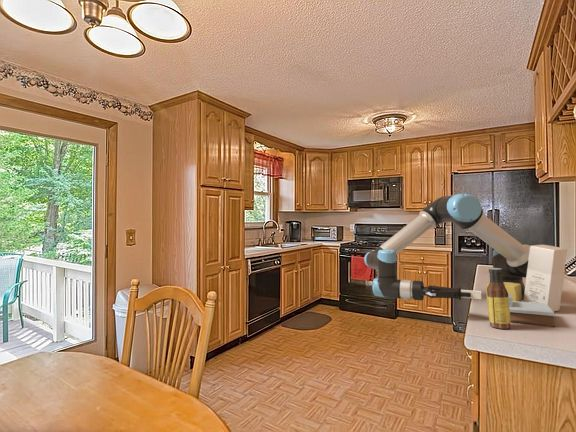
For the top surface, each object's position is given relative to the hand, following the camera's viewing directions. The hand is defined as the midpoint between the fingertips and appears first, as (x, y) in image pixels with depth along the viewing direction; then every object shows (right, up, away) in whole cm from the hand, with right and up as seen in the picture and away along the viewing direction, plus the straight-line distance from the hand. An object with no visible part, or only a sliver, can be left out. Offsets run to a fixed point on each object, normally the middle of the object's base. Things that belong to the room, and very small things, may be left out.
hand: (481, 295), depth 121 cm
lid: (+17, -5, 0) cm, 18 cm away
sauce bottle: (+2, -9, -8) cm, 12 cm away
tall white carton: (+32, -8, +13) cm, 35 cm away
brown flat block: (+17, -9, 0) cm, 20 cm away
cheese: (+20, -10, +18) cm, 29 cm away
